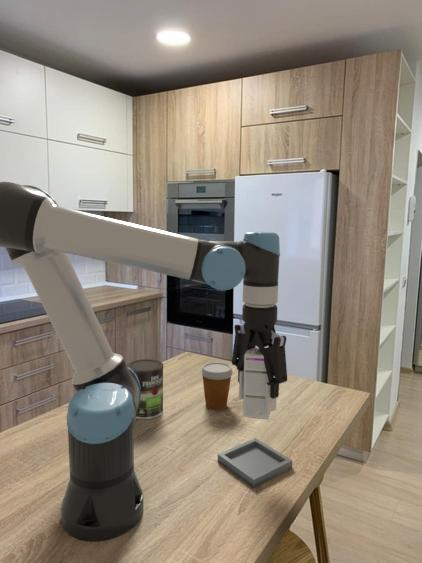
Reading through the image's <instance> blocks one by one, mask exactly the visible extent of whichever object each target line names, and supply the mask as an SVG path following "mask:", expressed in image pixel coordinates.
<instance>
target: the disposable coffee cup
mask: <svg viewBox="0 0 422 563" xmlns="http://www.w3.org/2000/svg"><path fill="white" fill-rule="evenodd" d="M200 373H201V376H202V381H203V384H202V385H203V392H204V399H205V400H204V401H205V406H206V408H207V409H209V410H214V411H220V410H224V409H226V408H227V406H228V400H229V399H228V398H229V392H230V386H231V380H232V376H233V374H234V370H233V369H232V366H231V365H230V364H227V363H225V362H208V363H205V364H203V365H202V369H201V370H200Z"/></svg>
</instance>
